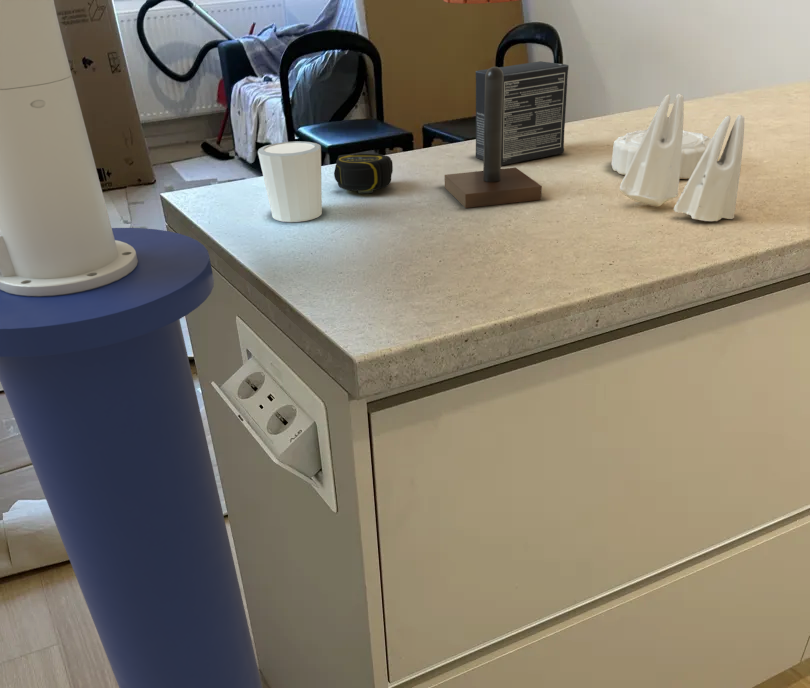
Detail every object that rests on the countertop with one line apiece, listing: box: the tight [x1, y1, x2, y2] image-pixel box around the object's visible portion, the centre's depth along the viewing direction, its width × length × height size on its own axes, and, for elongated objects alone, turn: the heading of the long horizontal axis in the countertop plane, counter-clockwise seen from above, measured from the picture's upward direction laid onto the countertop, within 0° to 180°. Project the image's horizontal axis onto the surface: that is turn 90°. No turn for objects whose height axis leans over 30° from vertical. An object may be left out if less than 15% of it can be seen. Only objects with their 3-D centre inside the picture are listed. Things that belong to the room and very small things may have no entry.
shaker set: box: [619, 93, 745, 222], centre depth 82 cm, size 12×4×11 cm, turn 47°
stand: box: [444, 66, 543, 209], centre depth 90 cm, size 9×9×13 cm
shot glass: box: [257, 140, 323, 223], centre depth 89 cm, size 7×7×7 cm
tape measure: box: [333, 153, 394, 194], centre depth 97 cm, size 7×7×4 cm
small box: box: [475, 60, 570, 167], centre depth 105 cm, size 11×6×10 cm, turn 118°
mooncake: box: [610, 129, 712, 180], centre depth 99 cm, size 12×12×4 cm
